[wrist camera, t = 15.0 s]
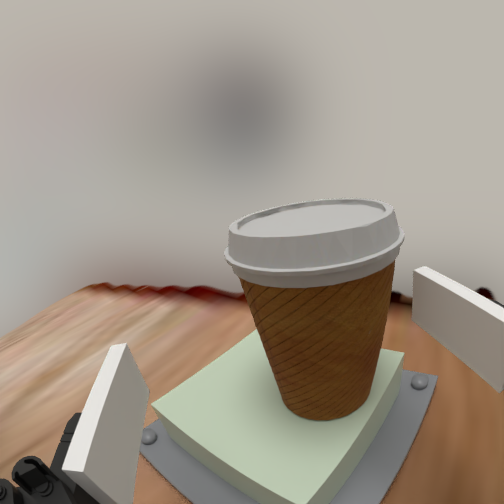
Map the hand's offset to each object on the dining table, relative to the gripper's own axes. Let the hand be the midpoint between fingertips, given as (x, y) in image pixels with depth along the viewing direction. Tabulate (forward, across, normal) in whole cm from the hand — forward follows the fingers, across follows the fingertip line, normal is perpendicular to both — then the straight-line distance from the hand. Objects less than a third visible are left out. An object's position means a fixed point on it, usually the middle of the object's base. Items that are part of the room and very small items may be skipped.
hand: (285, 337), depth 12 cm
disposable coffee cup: (+4, +3, -8) cm, 10 cm away
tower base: (+6, 0, -14) cm, 15 cm away
